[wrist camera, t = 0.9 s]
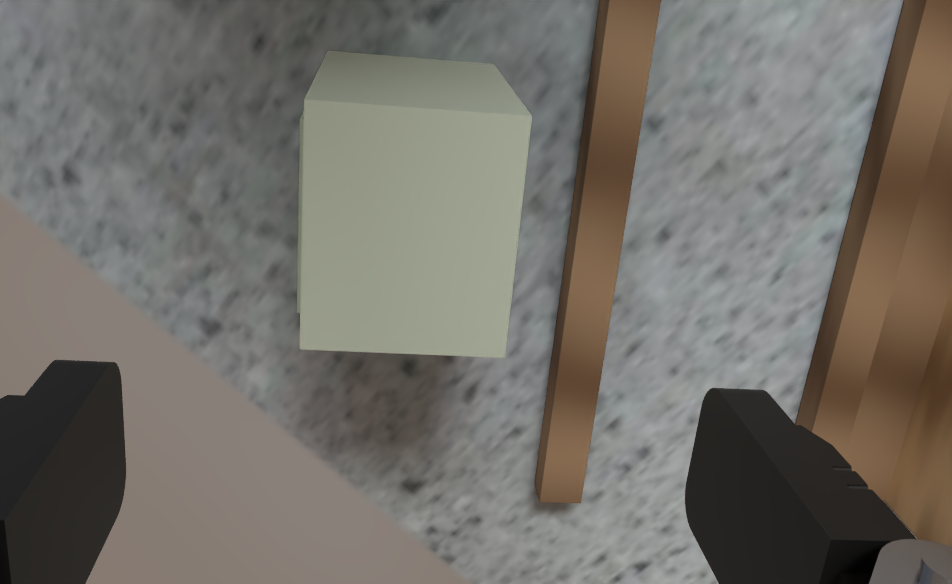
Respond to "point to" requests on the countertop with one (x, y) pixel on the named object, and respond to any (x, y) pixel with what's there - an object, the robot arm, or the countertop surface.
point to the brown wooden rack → (852, 290)
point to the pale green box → (409, 206)
